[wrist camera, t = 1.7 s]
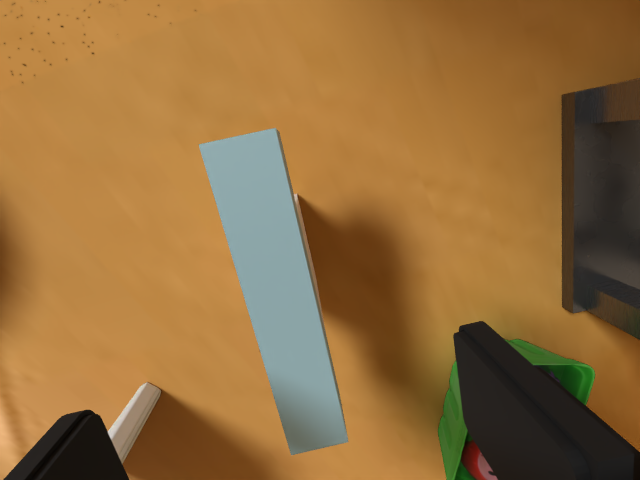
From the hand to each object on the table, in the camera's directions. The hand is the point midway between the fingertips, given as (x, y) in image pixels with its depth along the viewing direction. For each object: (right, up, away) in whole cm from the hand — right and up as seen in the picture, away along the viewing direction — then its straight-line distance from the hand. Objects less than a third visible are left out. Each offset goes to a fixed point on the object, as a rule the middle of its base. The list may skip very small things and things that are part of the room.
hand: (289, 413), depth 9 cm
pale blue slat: (-1, +4, +13) cm, 14 cm away
